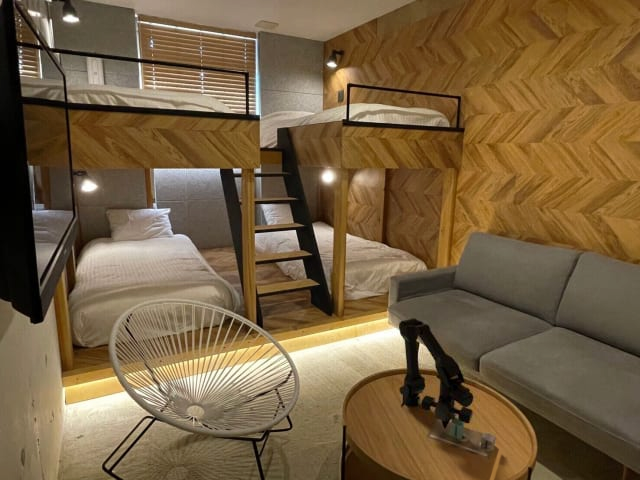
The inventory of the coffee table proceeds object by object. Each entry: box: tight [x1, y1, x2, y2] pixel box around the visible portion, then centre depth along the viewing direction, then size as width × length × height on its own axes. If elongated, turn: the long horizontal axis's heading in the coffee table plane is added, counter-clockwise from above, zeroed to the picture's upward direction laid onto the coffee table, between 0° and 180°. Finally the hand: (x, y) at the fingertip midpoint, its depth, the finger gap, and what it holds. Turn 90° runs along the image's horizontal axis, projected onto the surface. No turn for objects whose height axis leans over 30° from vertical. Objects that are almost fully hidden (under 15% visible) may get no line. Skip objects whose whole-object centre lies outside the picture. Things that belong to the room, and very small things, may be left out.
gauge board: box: [426, 418, 497, 460], centre depth 166 cm, size 24×13×5 cm, turn 58°
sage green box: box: [450, 416, 465, 440], centre depth 167 cm, size 4×4×6 cm
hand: (445, 427), depth 170 cm, fingers closed
